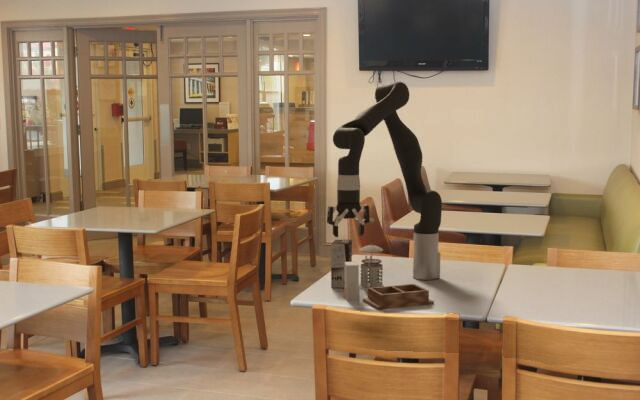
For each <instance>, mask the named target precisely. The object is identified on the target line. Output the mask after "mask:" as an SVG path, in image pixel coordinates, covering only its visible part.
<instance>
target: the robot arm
mask: <svg viewBox="0 0 640 400" xmlns="http://www.w3.org/2000/svg"><path fill="white" fill-rule="evenodd" d="M409 90H410V89H409V87H408V85H407V84H406V83H405V82H402V81H393V82H388V83H384V84H380V85H378V86H377V87H376V88H375V93H374V98H375V102H376V103H373V104H372V105H370V106H369V107H367V108H365V109H364V110H362V111H361V112H359V114H358V115H357V116H355V118H354V119H352V120H349V121H348V122H346V123H344V124H342V125H341V126H339V127H338V128H337V129H336V130H335V131H334V133H333V136H332V142H333V145H334V146H335V147H336V148H337V149H340V150H349V152H348V154H347V155H344V156H341V157H339V158H338V161H337V169H338V170H337V181H336V182H337V183H336V184H337V186H336V187H337V188H336V190H337V191H336V193H337V194H336V199H337V200H336V206H332V205H328V206H327V213H326V214H327V215H326V216H327V217H326V223H327V224H329V225H331V226H332V235H333V236H334V238H338V237H339V226H338V225H339V223H340V222H341V221H342V220H343V219H344V220H347V219H355V220H356V221H357V222H358V227H357V228H358V229H357V231H358V232H357V233H358V236H360V237H363V235H364V234H365V225H366V224H368V223H371V222H370V219H371V217H370V206H369V204H362V205H361V201H360V199H361V179H360V162H361V157H362V153H363V150H364V146H365V139H366V137H367V136H368V135H369V134H370V133H371V132H372V131H374V129H375V128H376V127H377V126H379V125H380V123H382V122H383V121H384V124H385V125H386V128H387V130H388V134H389V136H390V140H391V143H392V146H393V149H394V153H395V156H396V159H397V161H398V164H399V168H400V170H401V173H402V177H403V180H404V182H405V183H404V184H405V187H406V193H407V196H408V197H407V198H408V202H409V204H410V207H411V209H412V210H413V211H414V213H418V214H420V219H419V221H418V222H417V223H415V224H414V225H413V253H412V255H413V256H412V257H413V259H412V260H413V262H412V264H413V265H412V266H413V267H412V268H413V271H412V275H413V276H412V277H413V279H416V280H421V281H422V280H424V281H425V280H427V281H429V280H436V279H440V278H441V252H439V230H440V227H441V223H442V210H443V201H442V197H441V195H440V193H439V192H437V191H436V190H431V189H427V188H426V185H425V183H424V180H423V177H422V167H423V152H422V149H421V146H420V143H419V139H418V137H417V136H416V134H415V133H414V132H413V131H412V130H411V129H410V128H409V127H408V126H407V125H406V124H405V123H404V122H403V121H402V119H401V118H400V117H399V115H398V112H397V111H399V110H400V109H401V108H403V107H404V106H406V105H407V104H408V102H409V100H410V91H409ZM360 211H362V212H363V218H362V216H361V215H360V214H359V213H360ZM335 212H337V215H336V216H335V218H334V213H335ZM333 218H334V219H333Z"/></svg>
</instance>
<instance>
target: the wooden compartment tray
mask: <svg viewBox="0 0 640 400" xmlns="http://www.w3.org/2000/svg"><path fill="white" fill-rule="evenodd" d="M362 302H364V303H365V304H367V305H368V306H370V307H372V308H373V309H375V310H377V311H380V310H381V311H382V310H391V309H398V308H399V309H401V308H410V307H422V306H428V305H429V306H430V305H434V304H435V301H434V300H432V299H430V290H429V289H427V288H425V287H422V286H420V285H418V284H416V283H409V284H397V285H396V284H395V285H386V286H384V287H373V288H368V291H367V297H363V298H362Z"/></svg>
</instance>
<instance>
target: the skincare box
mask: <svg viewBox="0 0 640 400" xmlns="http://www.w3.org/2000/svg"><path fill="white" fill-rule="evenodd" d="M359 266H360V265H359V263H358V262H357V261H352V262H344V268H345V288H344V297H345V298H346V299H345V300H346V301H359V300H360V299H359V292H360V291H359V290H360V289H359V285H360V281H359V280H360V279H359V278H360V276H359V275H360V273H359V270H360V269H359Z"/></svg>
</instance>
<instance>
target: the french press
mask: <svg viewBox="0 0 640 400" xmlns="http://www.w3.org/2000/svg"><path fill="white" fill-rule="evenodd" d="M373 222H375V218H373V217H370V222H369V223H373ZM383 251H384V249H383V248H382V247H381V246H377V245H374V244H368V245H365V246H363V247H361V248H360V252H361V253H366V254H371V255H370V256H369V258H368V256H367V255H365V258H364V259H362V260H361V262H362V263H361V264H360V284H359V290H361V291H367V292H368V288H373V287H384V284H383V277H384V276H383V274H384V273H383V272H384V271H383V270H384V268H383V267H384V266H383V264H382V262H383V261H382V260H381V259H377V258H373V254H377V253H381V252H383Z"/></svg>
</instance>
